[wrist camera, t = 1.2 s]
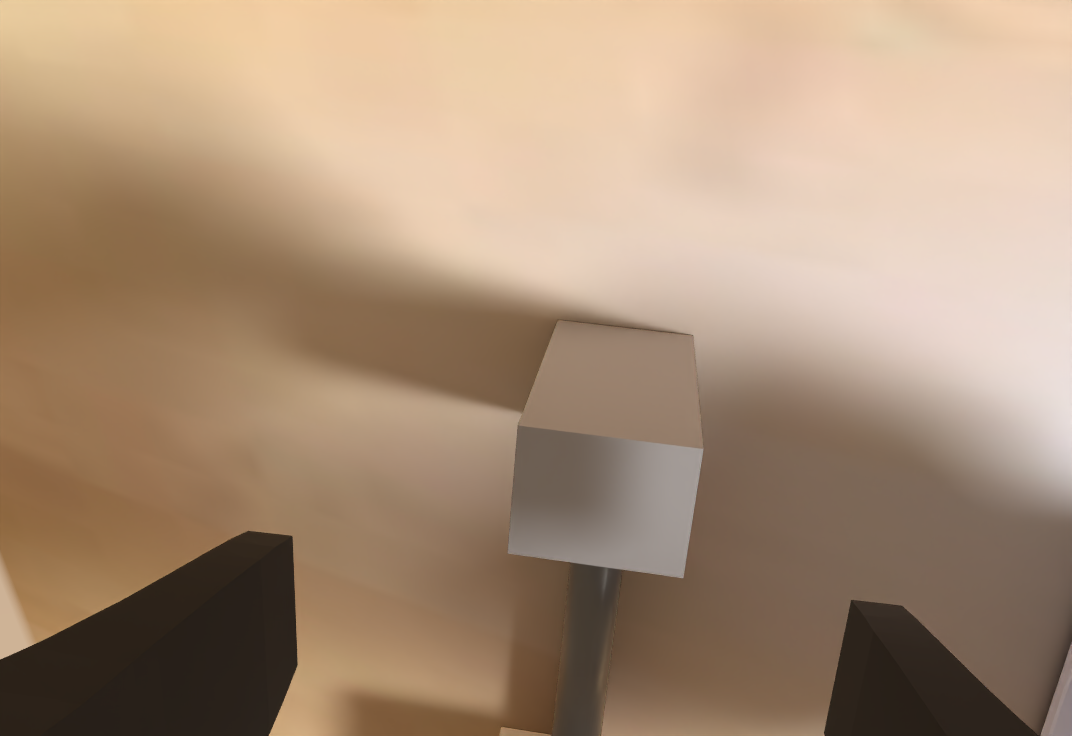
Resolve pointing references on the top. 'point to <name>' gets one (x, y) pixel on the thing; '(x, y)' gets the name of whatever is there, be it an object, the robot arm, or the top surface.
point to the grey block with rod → (605, 486)
